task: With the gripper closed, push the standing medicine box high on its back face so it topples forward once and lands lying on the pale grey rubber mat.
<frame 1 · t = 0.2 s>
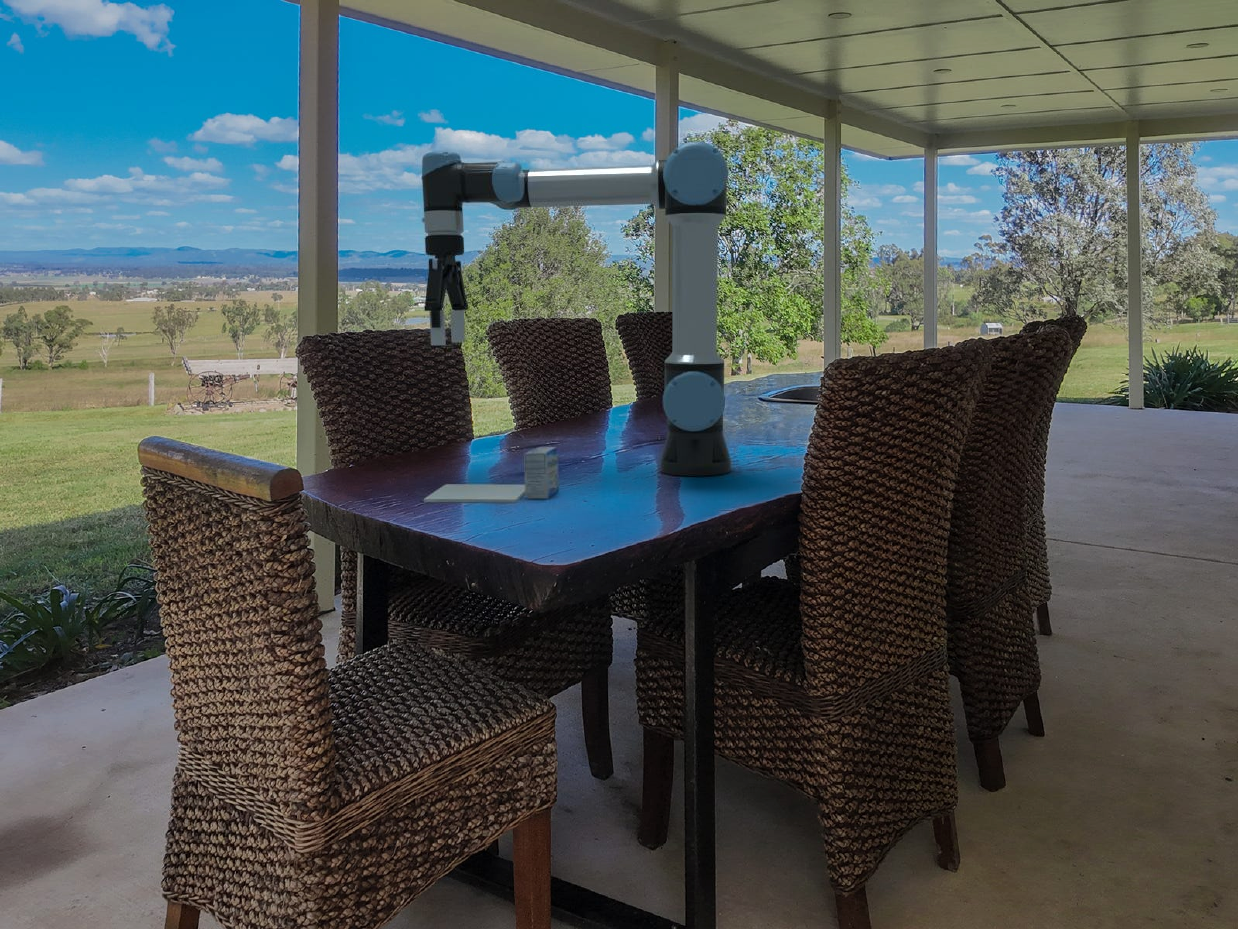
hand: (448, 343, 202), 28 cm above the table, tool pointing down, fingers open, 13 cm apart
medicine box: (542, 496, 190), on the table
mat: (479, 494, 192), on the table
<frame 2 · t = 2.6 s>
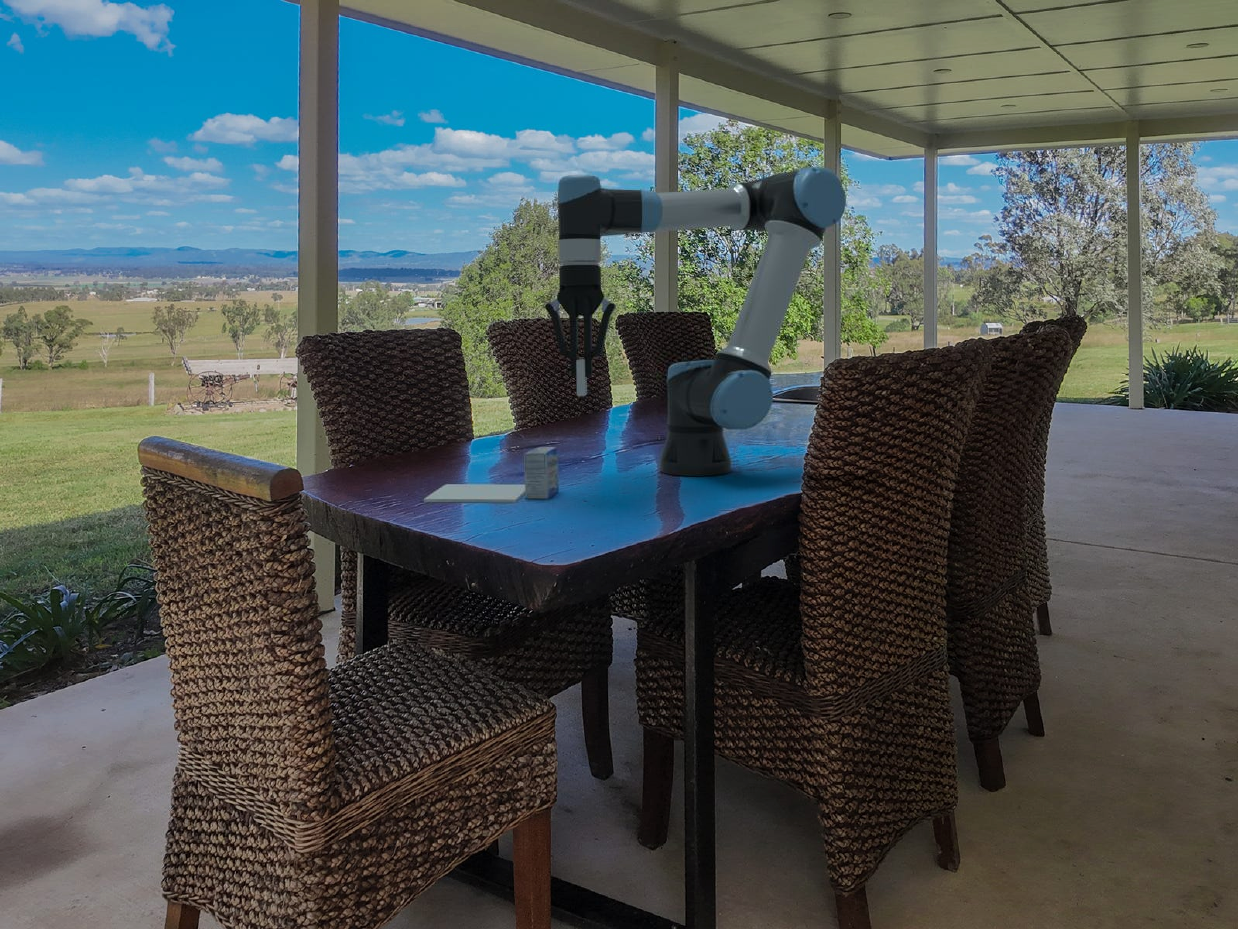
hand: (581, 395, 187), 19 cm above the table, tool pointing down, fingers closed
nothing on the table moved.
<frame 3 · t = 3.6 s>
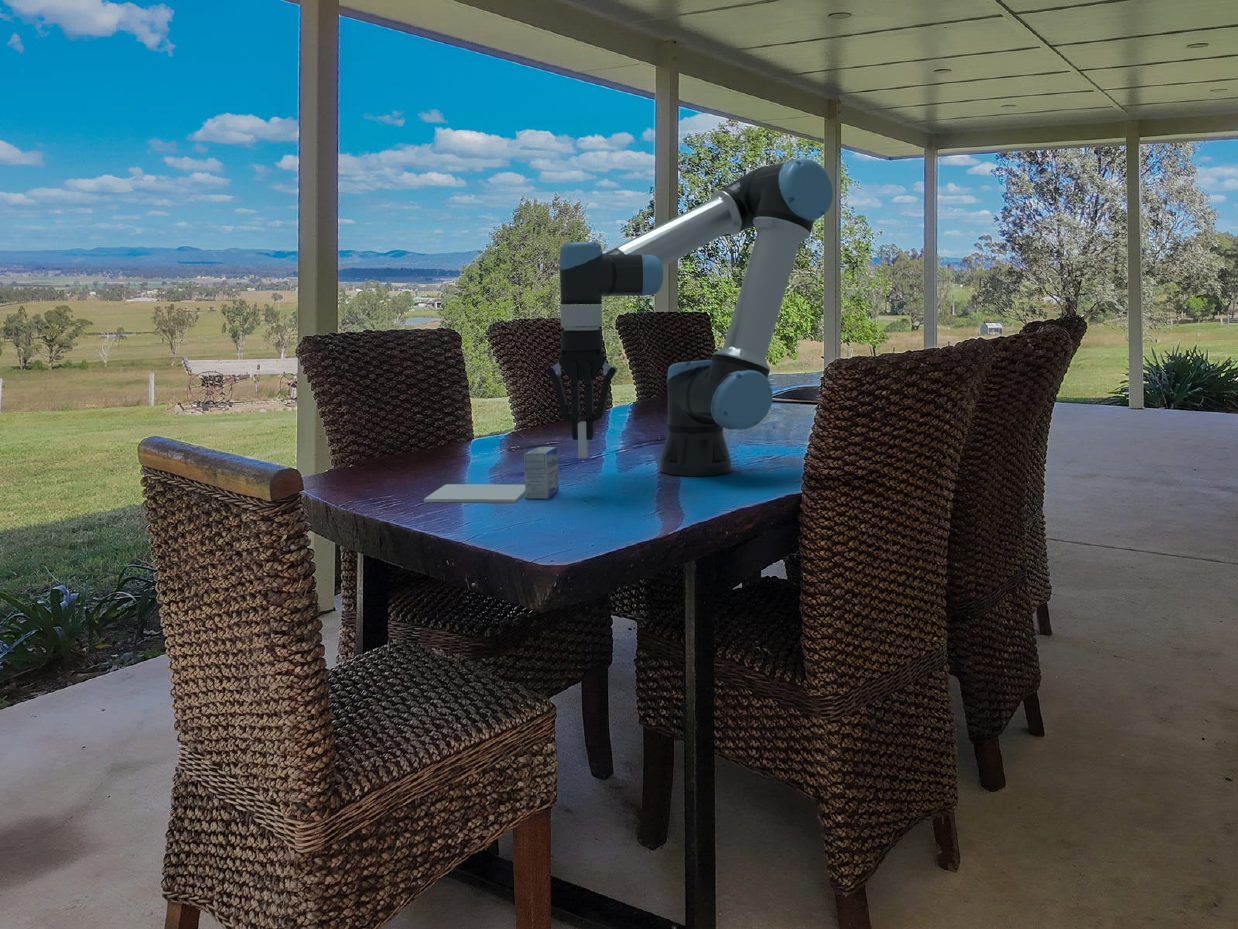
hand: (583, 457, 188), 7 cm above the table, tool pointing down, fingers closed
nothing on the table moved.
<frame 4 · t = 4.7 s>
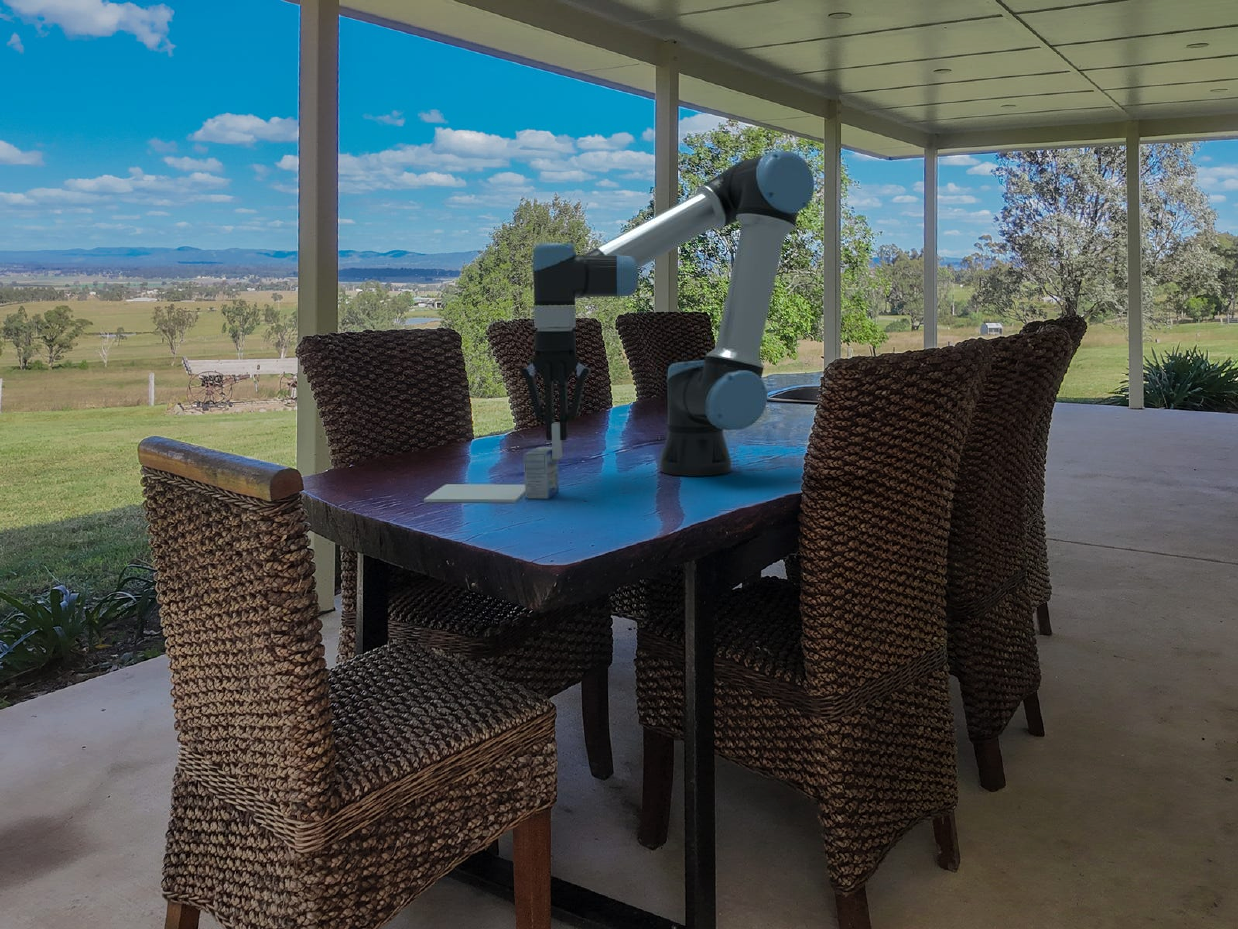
hand: (557, 457, 189), 7 cm above the table, tool pointing down, fingers closed
medicine box: (542, 496, 190), on the table, touching gripper
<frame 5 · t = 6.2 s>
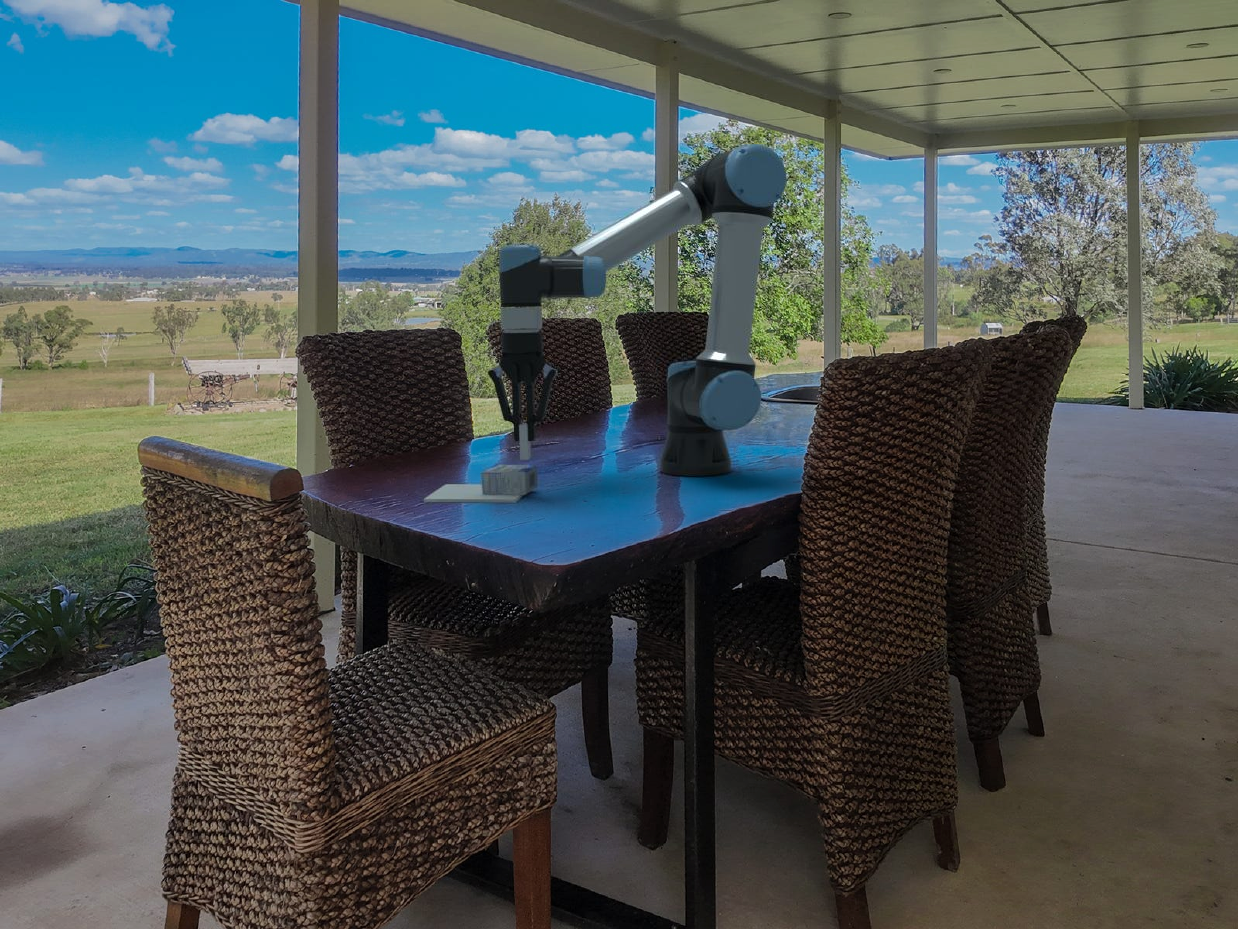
hand: (525, 458, 190), 7 cm above the table, tool pointing down, fingers closed
medicine box: (533, 480, 190), point 3 cm above the table, touching mat
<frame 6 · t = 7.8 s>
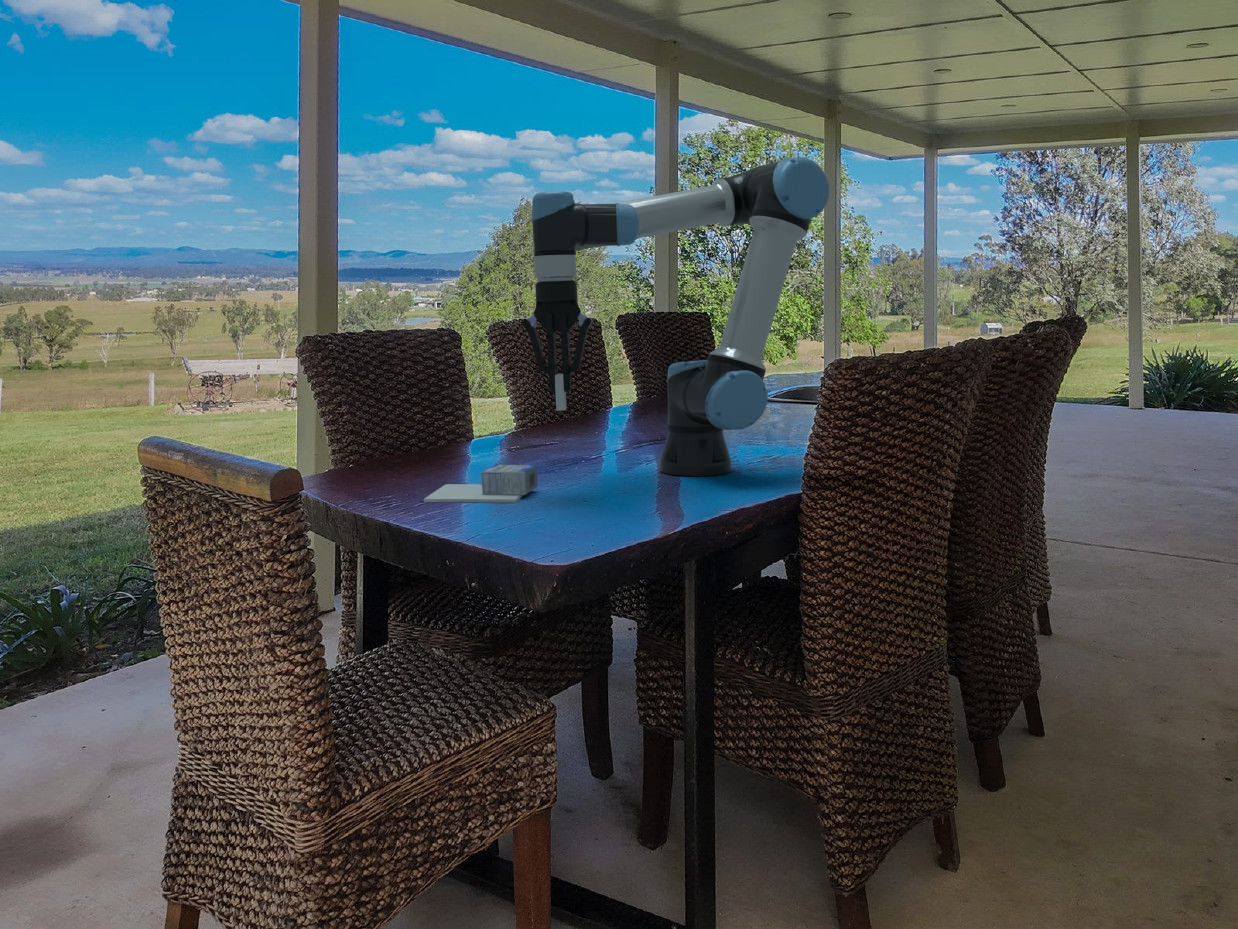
hand: (561, 409, 188), 16 cm above the table, tool pointing down, fingers closed
nothing on the table moved.
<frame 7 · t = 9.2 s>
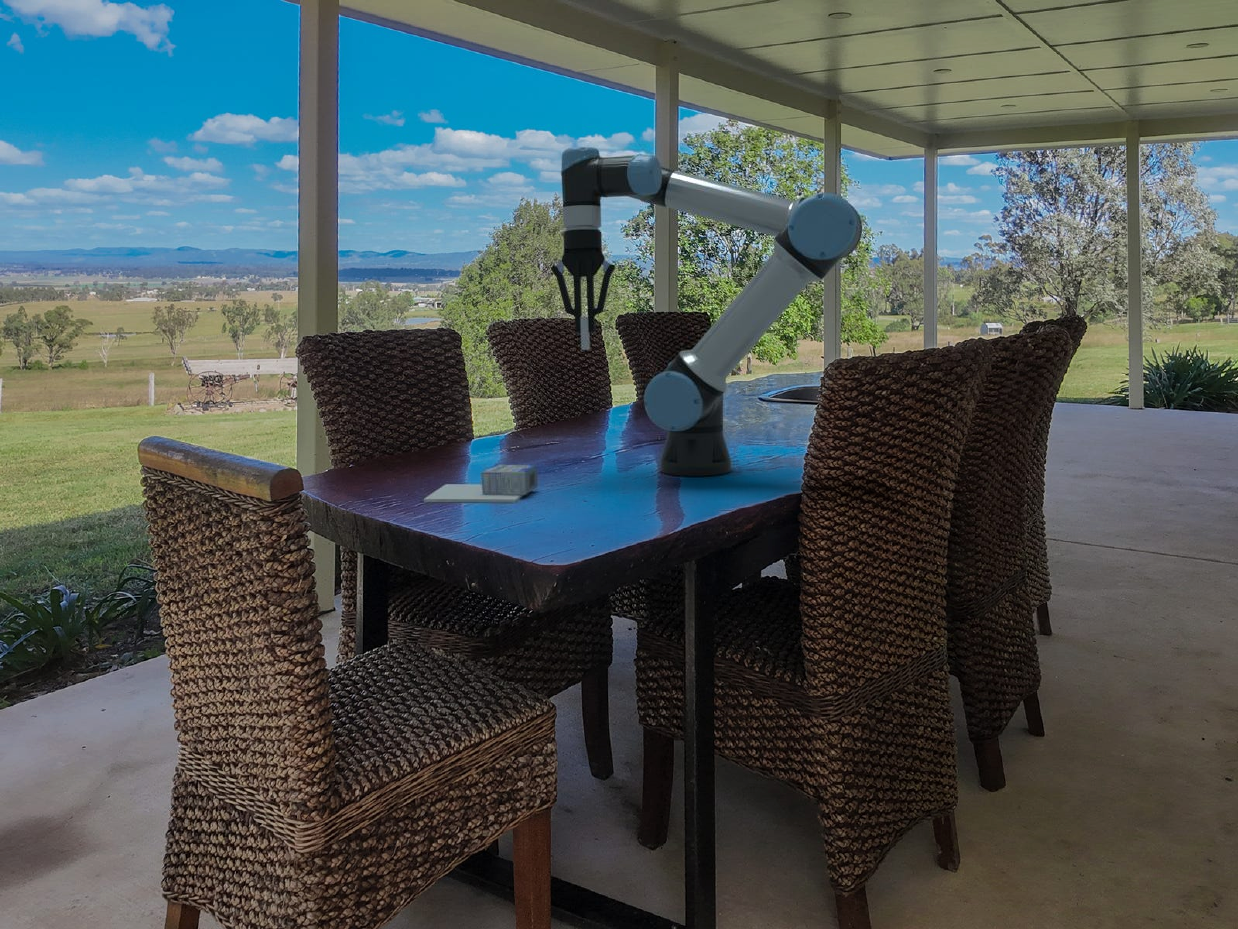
hand: (585, 349, 204), 26 cm above the table, tool pointing down, fingers closed
nothing on the table moved.
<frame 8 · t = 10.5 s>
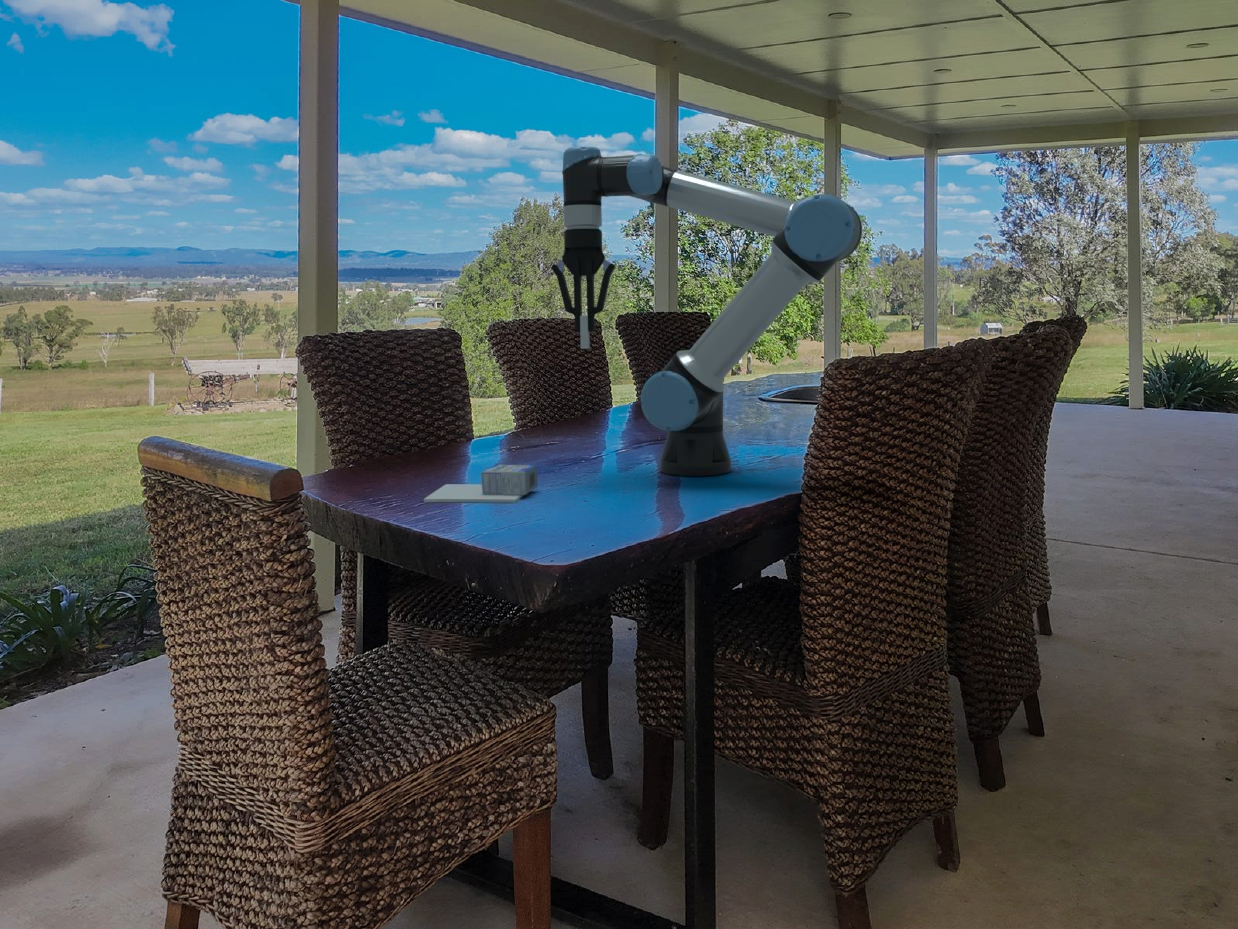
hand: (585, 348, 205), 26 cm above the table, tool pointing down, fingers closed
nothing on the table moved.
at the end: medicine box tilted 89°; medicine box touching mat; medicine box inside the target area (3.3 cm from its centre), point 2.8 cm above the table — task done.
